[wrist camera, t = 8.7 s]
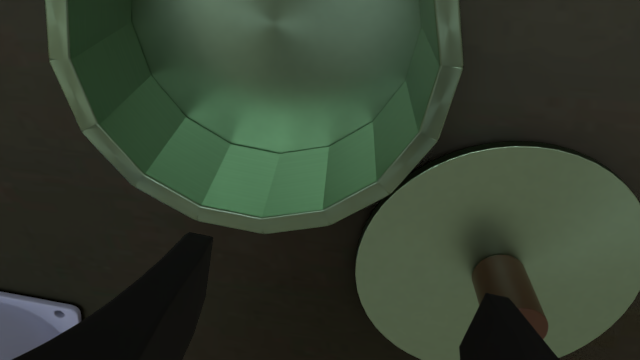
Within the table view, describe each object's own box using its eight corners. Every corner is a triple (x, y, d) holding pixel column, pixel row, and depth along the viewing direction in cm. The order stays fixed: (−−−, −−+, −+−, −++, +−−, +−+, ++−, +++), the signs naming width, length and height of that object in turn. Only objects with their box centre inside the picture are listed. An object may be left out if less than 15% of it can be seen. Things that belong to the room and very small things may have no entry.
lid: (330, 330, 28) (326, 404, 24) (395, 105, 22) (403, 156, 18) (565, 374, 29) (599, 454, 25) (698, 169, 22) (773, 232, 18)
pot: (117, 130, 23) (56, 194, 18) (118, -208, 17) (26, -243, 12) (389, 185, 23) (396, 261, 19) (484, -124, 17) (531, -125, 13)
